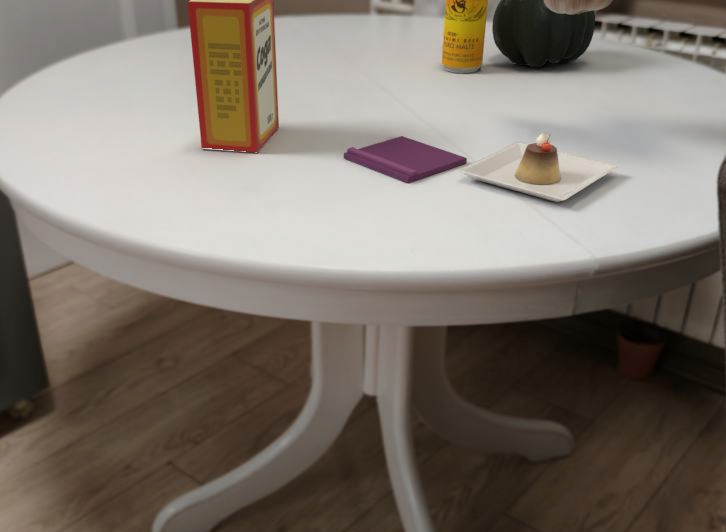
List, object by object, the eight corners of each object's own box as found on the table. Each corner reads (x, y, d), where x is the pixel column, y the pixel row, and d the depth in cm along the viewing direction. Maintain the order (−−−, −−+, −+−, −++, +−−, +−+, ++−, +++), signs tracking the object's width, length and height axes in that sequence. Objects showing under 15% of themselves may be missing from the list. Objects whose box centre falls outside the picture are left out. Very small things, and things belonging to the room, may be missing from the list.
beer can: (436, 71, 120) (443, -39, 112) (447, 62, 125) (454, -44, 117) (476, 75, 119) (485, -37, 110) (485, 66, 123) (495, -42, 115)
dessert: (562, 211, 76) (570, 162, 74) (456, 181, 83) (460, 135, 80) (617, 176, 84) (626, 130, 81) (516, 151, 90) (521, 108, 88)
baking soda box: (257, 153, 90) (248, -1, 81) (201, 149, 91) (187, -3, 82) (278, 127, 98) (272, -15, 89) (227, 124, 99) (216, -17, 90)
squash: (620, 35, 116) (595, -59, 118) (524, 46, 113) (500, -51, 115) (576, 83, 130) (555, -2, 132) (490, 93, 127) (469, 6, 129)
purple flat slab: (466, 163, 87) (467, 154, 87) (407, 183, 82) (408, 173, 82) (401, 140, 94) (402, 132, 93) (343, 158, 89) (343, 149, 88)
